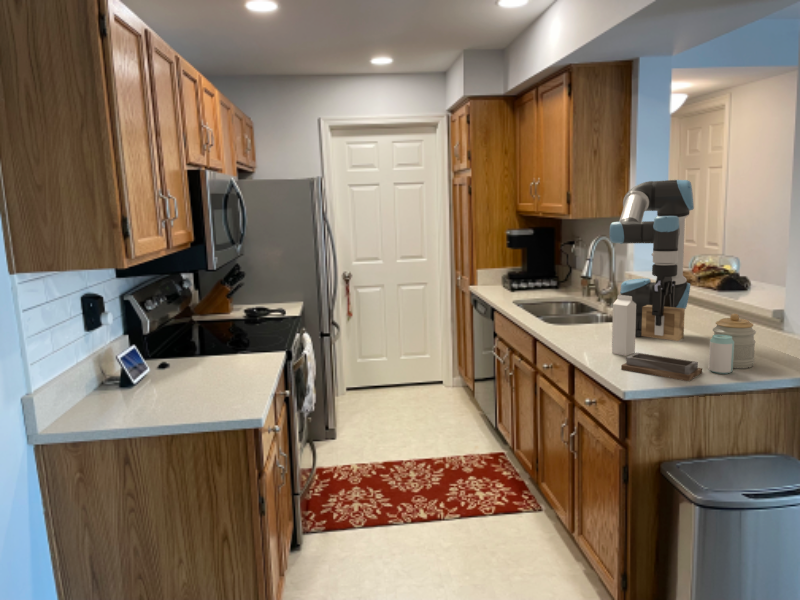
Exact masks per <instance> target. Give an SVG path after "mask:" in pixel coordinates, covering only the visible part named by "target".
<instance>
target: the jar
mask: <svg viewBox="0 0 800 600" xmlns="http://www.w3.org/2000/svg"><path fill="white" fill-rule="evenodd" d="M715 325H716V326H714V327H713V328H712V332H714V333H713V335H729V336H732V339H733V341H734V357H733V369H749V368H752V367H753V366H754V364H755V344H756V340H755V334H757V331H756V330H755V329H754V328H753V327H754V326H755V325H754V323H752V322H751V321H750V320H748V319H745V318H740V316H739V314H738V313H731V315H730V316H729V317H725V318H721V319H719V320H717V321H716V322H715ZM748 367H749V368H748Z"/></svg>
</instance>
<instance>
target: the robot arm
mask: <svg viewBox="0 0 800 600" xmlns="http://www.w3.org/2000/svg"><path fill="white" fill-rule="evenodd" d="M622 207H623V208H622V212H621V215H620V218H619V220H618V221H613V222H611V223H610V225H609V241H610V243H613V244H620V245H622V244H624V245H625V244H653V245H652V246H653V247H652V253H651V256H652V263H653V264H652V265H651V266H652V267H651V269H652V271H651V275H652V276H654V277H655V282H654V281H651V279H650V278H648V277H647V278H643V277H642V278H635V279H627V280H624V281H622V283H621V284H620V292H619V294H620V295H625V296H632V301H633V302H635V303H636V331H635V338H637V337H638V338H639V337H641V338H642V337H644V336H641V334H642V307H643V306H646V305H652V315H655V333H654V335H660V336H663V335H664V316H663V312H664V306H665V307H676V308H685V310H686V309H687V306H688V301H689V297H690V290H691V283H689V282H687V281H688V279H687V278H686V277H685V276H684V254H685V253H684V252H685V251H684V250H685V228H686V227H685V226H686V218H687V217H688V216H690V212H691V211H693V210H694V208H695V206H694V195H693V185H692V182H691V181H690V180H688V179H672V180H671V179H670V180H666V179H665V180H649V181H645V182H641V183H639V184H637V185H635V186H633V187H632V188H630V189H629V190H628V191H627V192H626V194H625V195H624V197H623V201H622ZM645 212H656V215H657V216H656V217H654V218H653V221H652V220H651V221H643V219H644V215H645Z"/></svg>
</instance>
